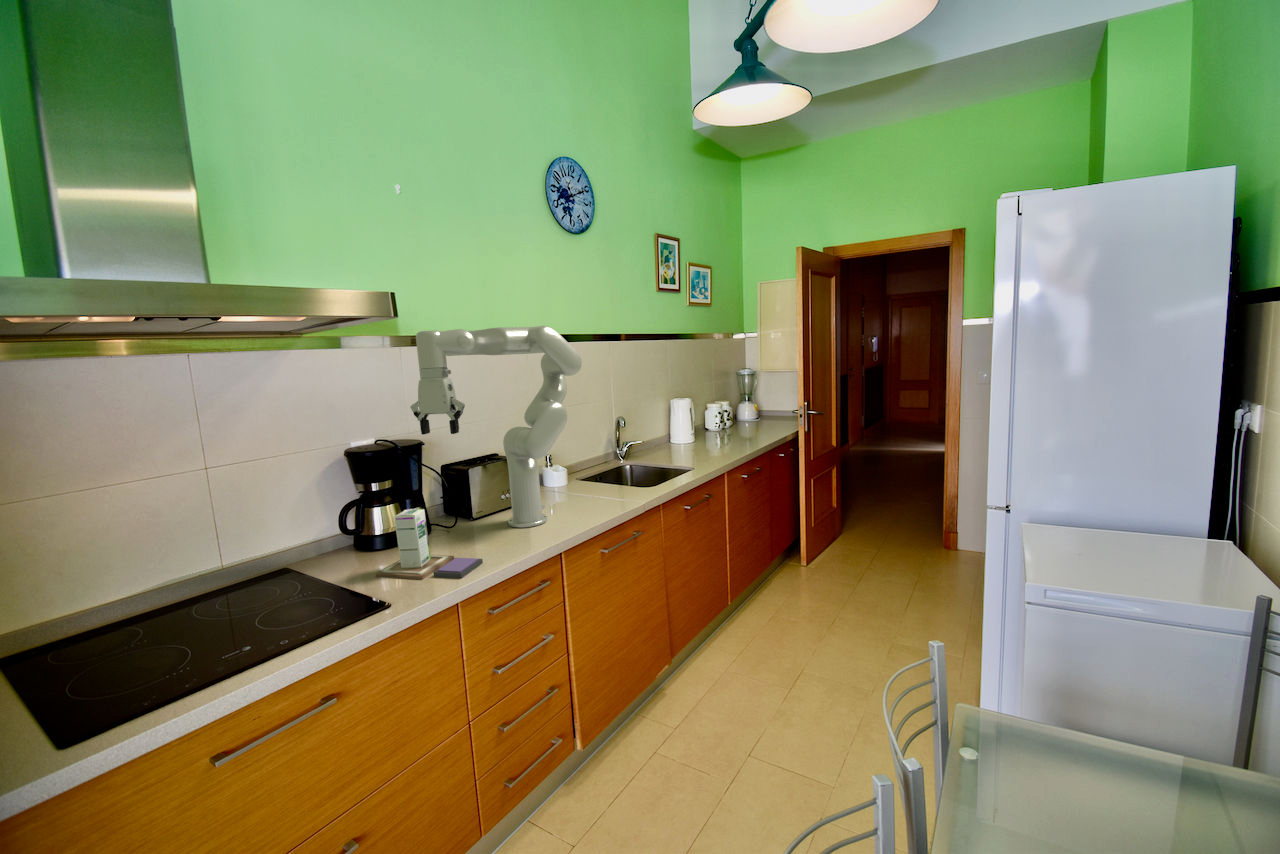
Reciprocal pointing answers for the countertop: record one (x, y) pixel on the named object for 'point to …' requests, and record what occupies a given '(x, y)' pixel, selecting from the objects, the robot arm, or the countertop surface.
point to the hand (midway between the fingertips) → (440, 433)
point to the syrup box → (412, 538)
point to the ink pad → (458, 567)
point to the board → (415, 573)
